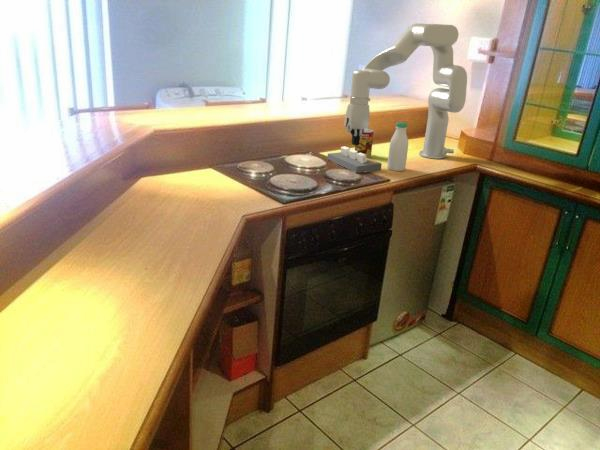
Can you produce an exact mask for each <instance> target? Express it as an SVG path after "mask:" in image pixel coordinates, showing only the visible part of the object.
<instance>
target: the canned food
mask: <svg viewBox="0 0 600 450" xmlns="http://www.w3.org/2000/svg"><path fill="white" fill-rule="evenodd" d="M373 140H374V130H373V129H369V128H368V129H367V130H366V131H364V132H363V133H362V135H361V136H360V142H359V145H356V146H355V145H354V150H356V151H358V153H360V152H361V153H363V154H366V157H367V158H369V159H370V158H371V157H372V151H373V142H374V141H373Z"/></svg>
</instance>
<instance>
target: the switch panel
mask: <svg viewBox="0 0 600 450" xmlns="http://www.w3.org/2000/svg"><path fill="white" fill-rule="evenodd" d="M327 158H328V159H330V160H332V161H334V162H336V163H338V164H339V165H341V166H343V167H346V168H348V169H351V170H353V171H356V172H364V171H367V172H366V173H371V172H378V171H381V170H382V166H383V165H382V163H381V162H379V161H377V160H374V159H371V158H370V157H369V158H367V157H366V158H367V162H365V163H361V162H359V161H357V159H355V160H354V159H352V158H350V157H349V156H345V155H343V154H342V153H341V151H340V152H339V151H338V152H331V153H327ZM339 165H338V166H339ZM341 166H340V167H341ZM343 167H342V168H343ZM348 169H347V170H348ZM364 173H365V172H364Z"/></svg>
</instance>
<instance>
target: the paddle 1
mask: <svg viewBox="0 0 600 450" xmlns="http://www.w3.org/2000/svg"><path fill="white" fill-rule="evenodd" d="M349 150H351V149H350V147H348V146H345V145H344V146H340V152H341V153H342V154H343V155H345V156H349Z"/></svg>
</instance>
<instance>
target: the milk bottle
mask: <svg viewBox="0 0 600 450" xmlns="http://www.w3.org/2000/svg"><path fill="white" fill-rule="evenodd" d="M407 128H408V123H407V122H404V121H403V122H402V121H397V122H396V123H395V131H394V133H393V135H392V136H391V139H390V142H389V148H388V156H387V157H388V158H387V165H386V168H387V170H390V171H393V172H404V171H405V170H406V166H407V159H408V150H409V139H408V135H407Z"/></svg>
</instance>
